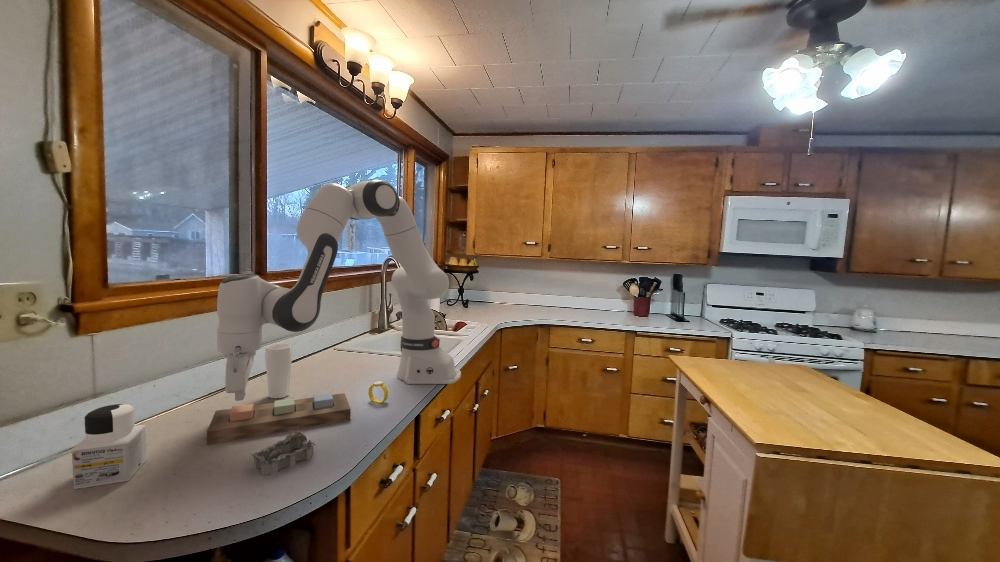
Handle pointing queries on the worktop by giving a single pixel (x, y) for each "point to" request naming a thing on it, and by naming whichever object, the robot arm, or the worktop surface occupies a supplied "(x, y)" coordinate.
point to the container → (109, 447)
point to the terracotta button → (242, 412)
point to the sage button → (284, 406)
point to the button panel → (277, 419)
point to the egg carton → (273, 455)
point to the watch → (380, 383)
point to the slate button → (323, 401)
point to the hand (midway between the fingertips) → (240, 398)
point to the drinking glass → (278, 369)
